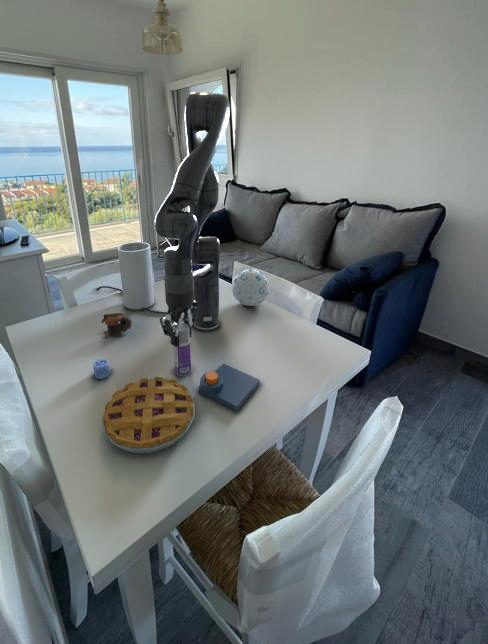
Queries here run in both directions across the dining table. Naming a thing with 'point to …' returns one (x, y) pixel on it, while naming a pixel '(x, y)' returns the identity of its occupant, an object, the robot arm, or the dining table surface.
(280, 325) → the dining table surface
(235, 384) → the scale
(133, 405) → the pie
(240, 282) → the puzzle ball
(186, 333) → the container
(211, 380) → the button
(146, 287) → the cylinder vase
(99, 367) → the decorative dice
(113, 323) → the pottery mug
